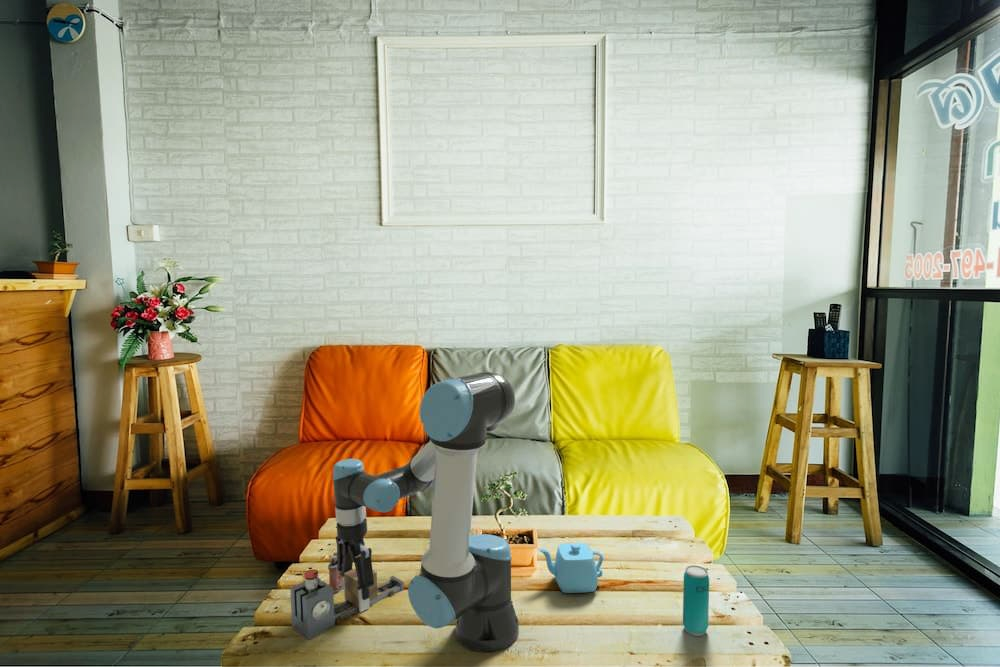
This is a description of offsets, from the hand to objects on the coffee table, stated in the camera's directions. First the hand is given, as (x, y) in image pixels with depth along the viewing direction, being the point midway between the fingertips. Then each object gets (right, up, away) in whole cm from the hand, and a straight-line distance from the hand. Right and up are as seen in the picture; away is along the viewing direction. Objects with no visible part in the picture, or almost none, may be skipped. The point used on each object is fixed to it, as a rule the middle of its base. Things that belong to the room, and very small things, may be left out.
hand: (357, 603), depth 149 cm
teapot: (+57, +1, +9) cm, 58 cm away
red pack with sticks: (-7, 0, +9) cm, 12 cm away
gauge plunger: (-9, +6, -10) cm, 14 cm away
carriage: (+1, +1, +1) cm, 2 cm away
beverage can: (+84, -1, -12) cm, 85 cm away
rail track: (-1, 0, -1) cm, 2 cm away
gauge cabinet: (-8, -1, -9) cm, 13 cm away
